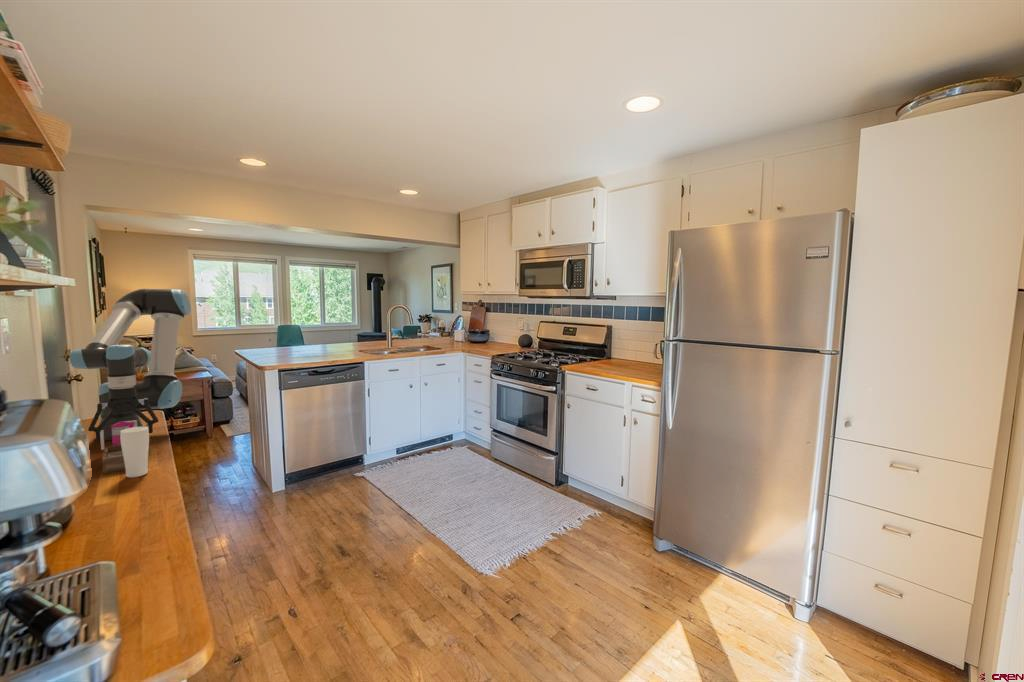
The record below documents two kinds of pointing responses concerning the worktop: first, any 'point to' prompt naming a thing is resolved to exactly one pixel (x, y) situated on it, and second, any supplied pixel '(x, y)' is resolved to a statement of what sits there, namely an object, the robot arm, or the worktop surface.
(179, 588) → the worktop surface
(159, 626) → the worktop surface
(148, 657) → the worktop surface
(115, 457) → the crate
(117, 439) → the supplement box
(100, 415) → the robot arm
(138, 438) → the white cup
